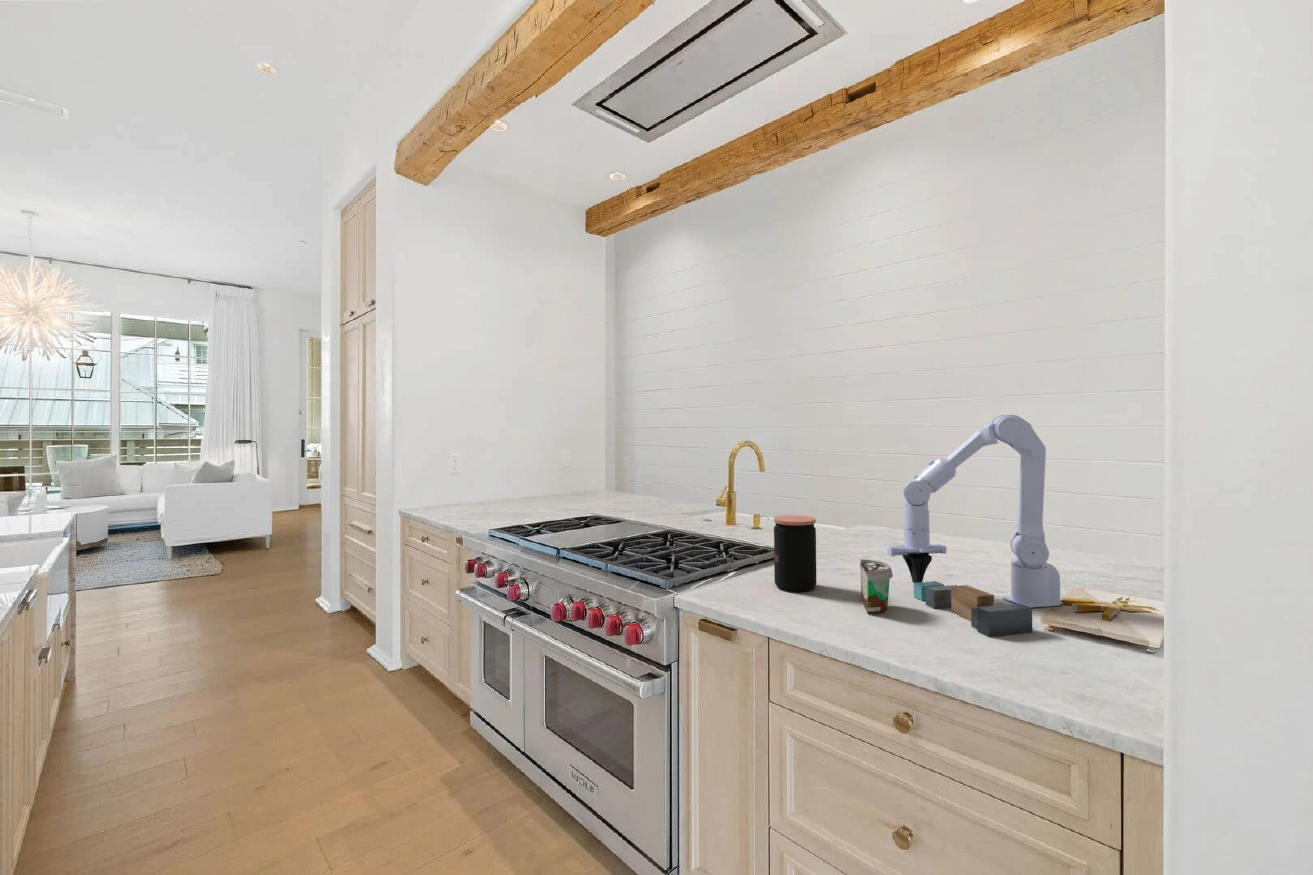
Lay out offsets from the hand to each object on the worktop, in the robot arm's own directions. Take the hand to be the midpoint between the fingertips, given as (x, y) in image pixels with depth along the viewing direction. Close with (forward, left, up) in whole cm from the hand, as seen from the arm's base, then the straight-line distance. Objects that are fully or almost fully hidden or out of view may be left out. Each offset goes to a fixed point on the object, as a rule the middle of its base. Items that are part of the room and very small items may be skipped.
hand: (917, 583), depth 146 cm
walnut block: (0, +19, -2) cm, 19 cm away
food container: (+16, +9, -3) cm, 19 cm away
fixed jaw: (0, +27, -2) cm, 27 cm away
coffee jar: (+27, -12, -3) cm, 30 cm away
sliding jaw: (0, +8, -2) cm, 8 cm away
